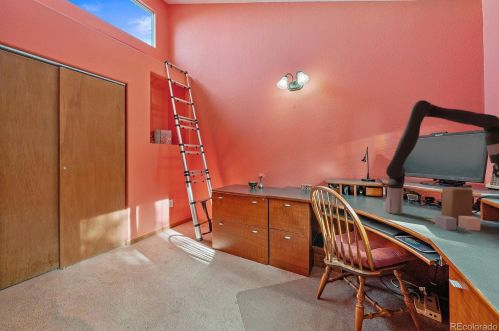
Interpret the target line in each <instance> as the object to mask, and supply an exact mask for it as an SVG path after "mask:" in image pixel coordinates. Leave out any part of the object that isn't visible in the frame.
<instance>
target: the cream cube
mask: <svg viewBox="0 0 499 331" xmlns="http://www.w3.org/2000/svg"><path fill="white" fill-rule="evenodd" d="M481 219H482V218H478V217H476V216H473V215H472V216H459V220H458V225H457V226H458V227H460V228H462V229H464V230H466V231H481V225H482V224H481V222H482V220H481Z"/></svg>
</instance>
